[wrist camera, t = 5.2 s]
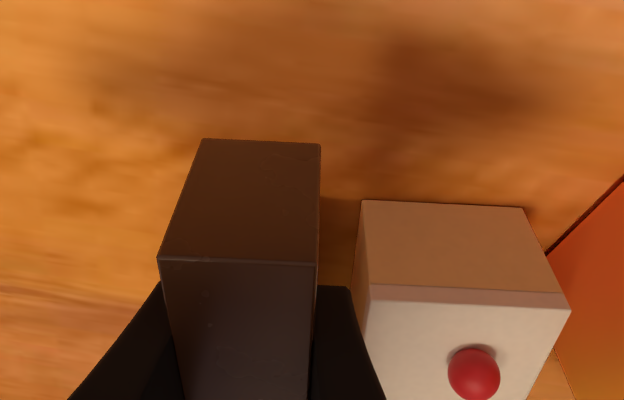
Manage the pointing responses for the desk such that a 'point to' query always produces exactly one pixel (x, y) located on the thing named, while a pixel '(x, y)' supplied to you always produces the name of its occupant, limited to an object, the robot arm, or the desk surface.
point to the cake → (454, 300)
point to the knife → (244, 270)
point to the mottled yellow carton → (593, 302)
